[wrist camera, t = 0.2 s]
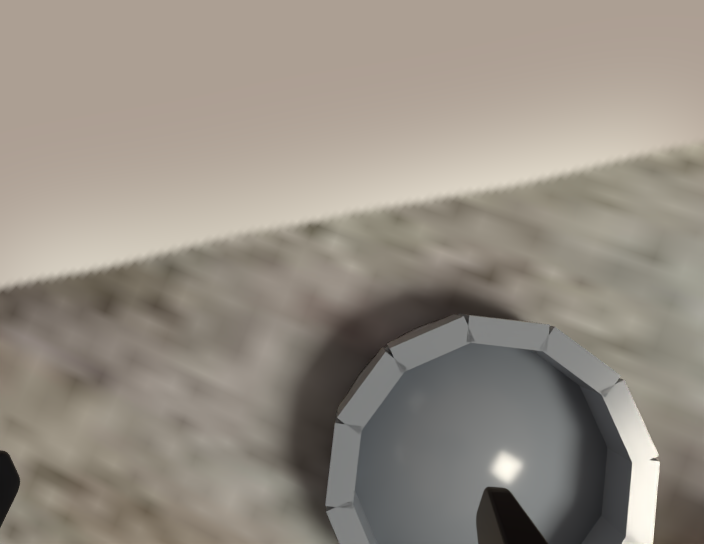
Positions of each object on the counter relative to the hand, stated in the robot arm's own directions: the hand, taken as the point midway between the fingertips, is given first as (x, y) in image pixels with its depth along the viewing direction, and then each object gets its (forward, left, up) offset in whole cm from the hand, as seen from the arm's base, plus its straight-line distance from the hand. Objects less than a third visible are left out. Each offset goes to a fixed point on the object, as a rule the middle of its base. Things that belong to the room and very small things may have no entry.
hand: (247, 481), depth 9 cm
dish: (-8, -6, -15) cm, 18 cm away
